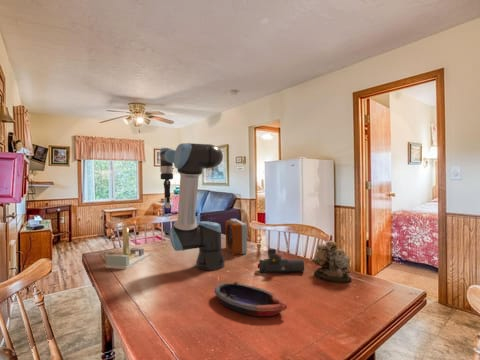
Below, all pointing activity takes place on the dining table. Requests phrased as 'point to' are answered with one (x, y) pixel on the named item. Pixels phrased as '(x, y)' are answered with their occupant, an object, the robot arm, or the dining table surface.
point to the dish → (249, 299)
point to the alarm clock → (236, 236)
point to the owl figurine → (332, 263)
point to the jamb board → (131, 262)
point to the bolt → (126, 243)
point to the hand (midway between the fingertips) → (167, 206)
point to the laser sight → (279, 264)
